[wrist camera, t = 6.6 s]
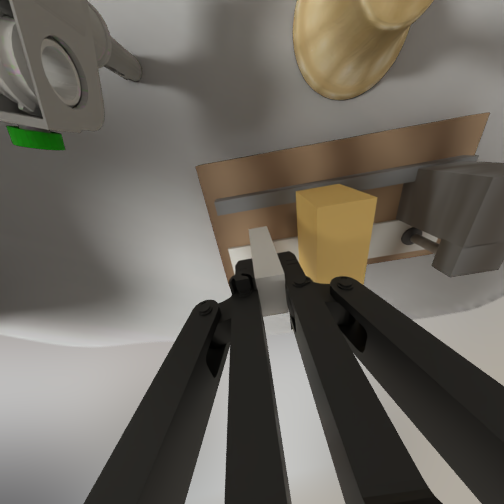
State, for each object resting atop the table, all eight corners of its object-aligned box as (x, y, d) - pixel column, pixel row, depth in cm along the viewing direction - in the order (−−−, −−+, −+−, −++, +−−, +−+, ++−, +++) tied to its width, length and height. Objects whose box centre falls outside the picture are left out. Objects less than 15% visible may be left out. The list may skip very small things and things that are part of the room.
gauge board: (230, 278, 23) (225, 334, 16) (198, 165, 17) (169, 176, 10) (426, 246, 23) (510, 291, 16) (470, 115, 16) (643, 89, 9)
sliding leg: (297, 265, 20) (316, 303, 15) (293, 189, 16) (317, 207, 11) (331, 259, 20) (361, 296, 15) (335, 182, 16) (377, 197, 11)
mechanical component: (145, -36, 12) (-152, -609, 3) (156, 151, 16) (58, 153, 8) (92, -51, 11) (-440, -768, 2) (119, 144, 16) (-28, 138, 7)
